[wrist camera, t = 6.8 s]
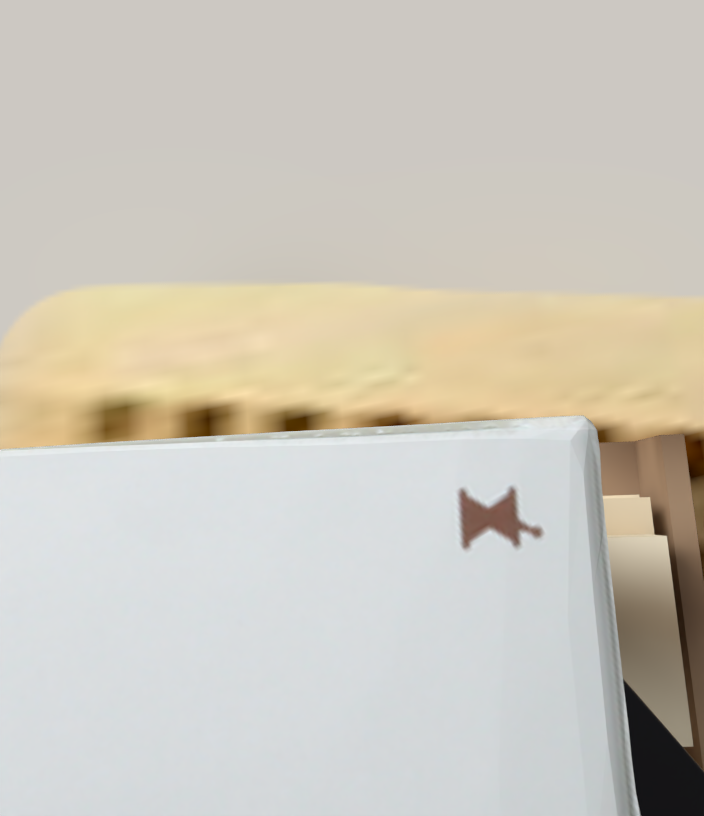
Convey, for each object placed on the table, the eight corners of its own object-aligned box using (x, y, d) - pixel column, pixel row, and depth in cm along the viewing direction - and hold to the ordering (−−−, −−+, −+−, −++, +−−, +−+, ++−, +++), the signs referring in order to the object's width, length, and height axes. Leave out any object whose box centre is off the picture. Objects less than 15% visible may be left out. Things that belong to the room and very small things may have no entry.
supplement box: (199, 485, 17) (-231, 420, 5) (443, 479, 17) (634, 395, 5) (192, 749, 16) (-418, 1567, 4) (456, 746, 16) (768, 1596, 3)
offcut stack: (651, 725, 20) (710, 772, 16) (519, 728, 20) (550, 776, 17) (624, 495, 21) (674, 492, 18) (501, 499, 22) (526, 498, 18)
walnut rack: (684, 773, 21) (781, 857, 16) (462, 778, 21) (489, 862, 16) (643, 443, 23) (718, 425, 18) (441, 451, 23) (460, 436, 18)
